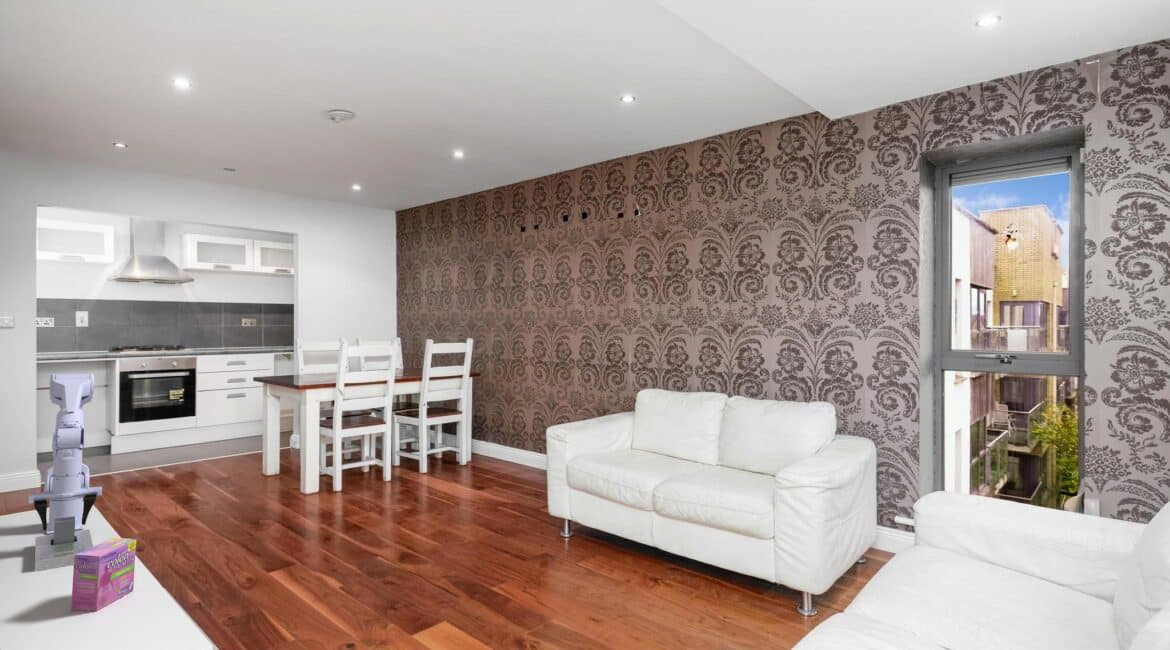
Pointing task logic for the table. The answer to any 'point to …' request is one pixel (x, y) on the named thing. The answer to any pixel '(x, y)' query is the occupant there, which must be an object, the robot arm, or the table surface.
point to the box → (103, 574)
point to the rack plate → (59, 550)
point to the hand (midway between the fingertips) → (64, 526)
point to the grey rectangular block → (64, 530)
